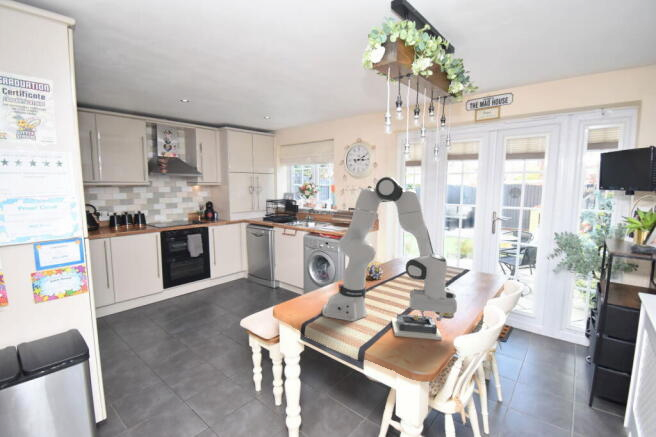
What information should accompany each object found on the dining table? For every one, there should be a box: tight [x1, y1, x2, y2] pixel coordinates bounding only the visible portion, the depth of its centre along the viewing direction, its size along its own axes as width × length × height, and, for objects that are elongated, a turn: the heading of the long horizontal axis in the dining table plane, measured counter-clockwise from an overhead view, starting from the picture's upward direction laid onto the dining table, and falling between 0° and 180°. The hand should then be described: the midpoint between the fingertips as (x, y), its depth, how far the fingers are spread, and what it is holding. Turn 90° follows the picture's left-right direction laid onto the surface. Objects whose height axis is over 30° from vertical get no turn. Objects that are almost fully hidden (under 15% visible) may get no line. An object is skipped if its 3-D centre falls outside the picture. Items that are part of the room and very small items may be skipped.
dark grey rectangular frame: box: [396, 313, 438, 334], centre depth 138 cm, size 16×10×3 cm, turn 84°
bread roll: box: [436, 312, 455, 318], centre depth 156 cm, size 8×9×4 cm
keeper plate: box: [390, 314, 443, 341], centre depth 138 cm, size 20×14×7 cm
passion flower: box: [366, 262, 384, 281], centre depth 208 cm, size 11×11×12 cm
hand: (431, 319), depth 136 cm, fingers open, 5 cm apart
